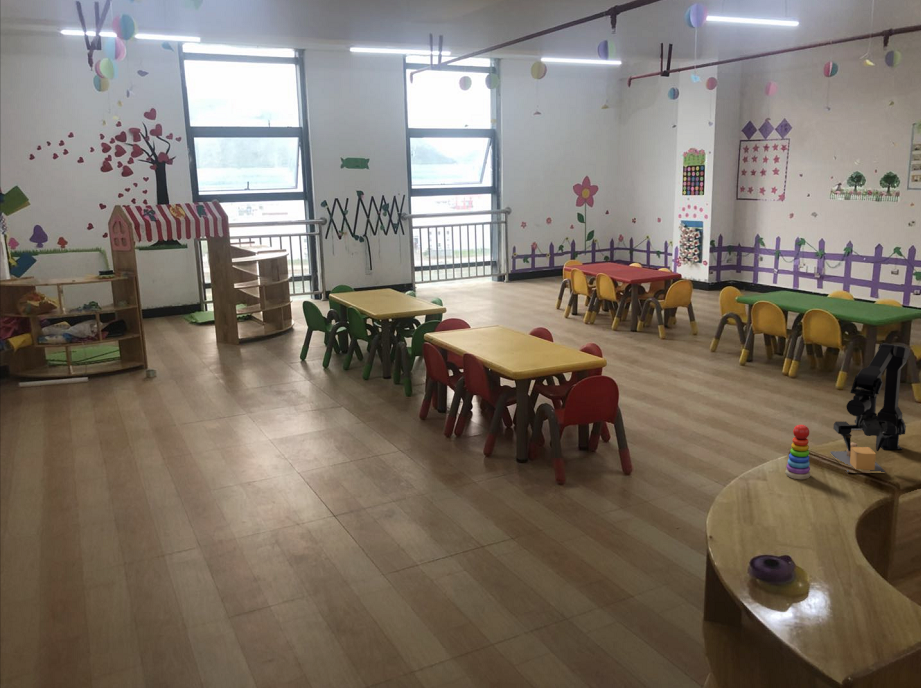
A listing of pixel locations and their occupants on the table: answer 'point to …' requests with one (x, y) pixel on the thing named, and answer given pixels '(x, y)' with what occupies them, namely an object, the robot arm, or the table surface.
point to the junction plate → (845, 457)
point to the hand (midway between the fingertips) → (863, 450)
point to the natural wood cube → (862, 458)
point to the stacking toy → (799, 454)
